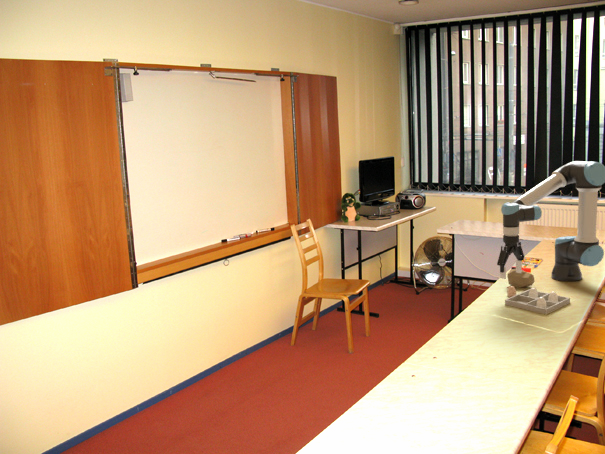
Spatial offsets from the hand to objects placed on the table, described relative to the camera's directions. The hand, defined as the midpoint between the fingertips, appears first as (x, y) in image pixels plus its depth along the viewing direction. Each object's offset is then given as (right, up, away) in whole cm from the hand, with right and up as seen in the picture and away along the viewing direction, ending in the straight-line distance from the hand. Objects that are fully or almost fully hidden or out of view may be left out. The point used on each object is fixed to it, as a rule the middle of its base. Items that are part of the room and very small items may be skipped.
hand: (511, 275), depth 266 cm
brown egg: (+1, -11, +2) cm, 11 cm away
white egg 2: (+7, -14, -19) cm, 25 cm away
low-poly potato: (+11, -8, +15) cm, 21 cm away
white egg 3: (+15, -12, -13) cm, 23 cm away
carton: (+8, -13, -12) cm, 19 cm away
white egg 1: (+9, -11, -5) cm, 15 cm away
